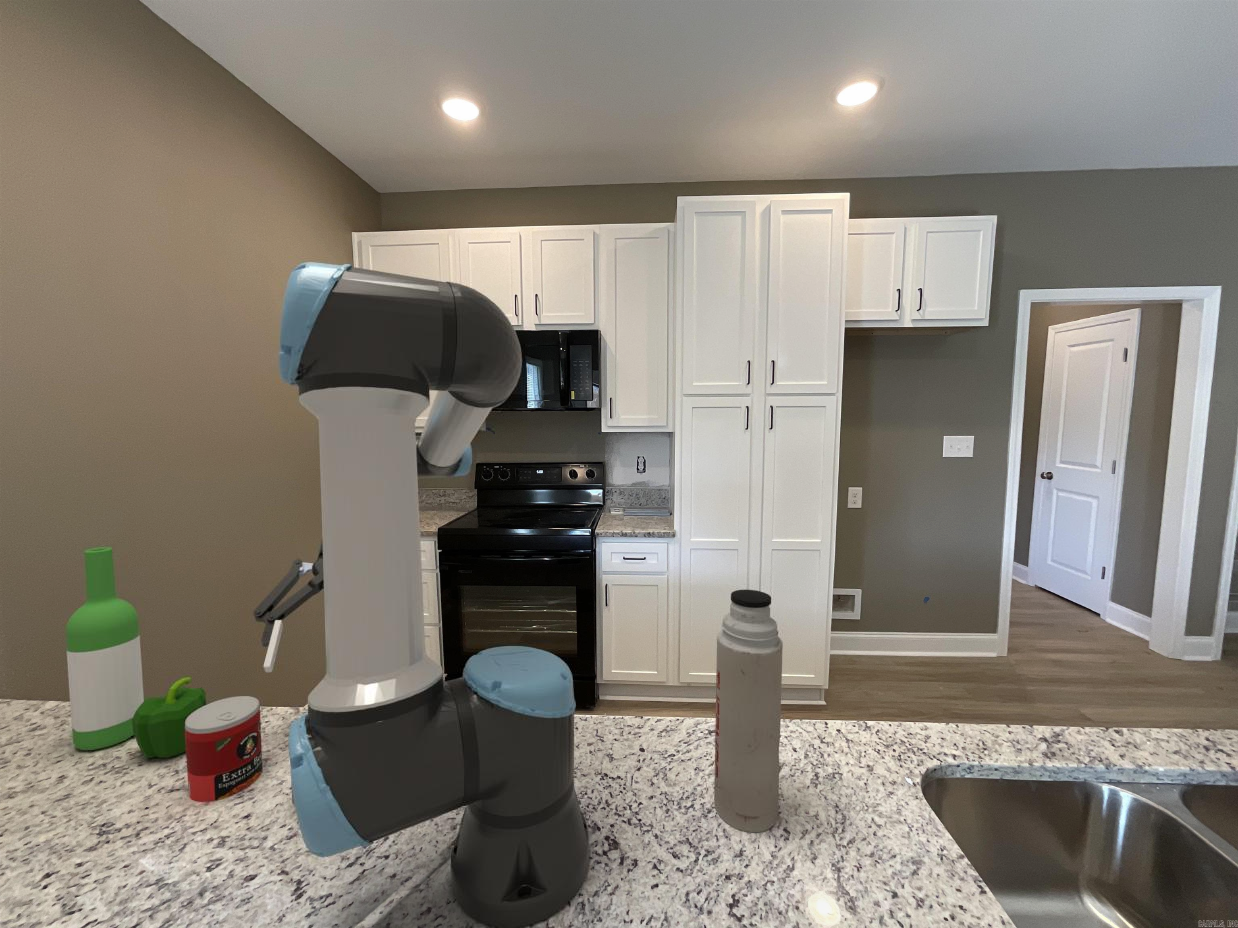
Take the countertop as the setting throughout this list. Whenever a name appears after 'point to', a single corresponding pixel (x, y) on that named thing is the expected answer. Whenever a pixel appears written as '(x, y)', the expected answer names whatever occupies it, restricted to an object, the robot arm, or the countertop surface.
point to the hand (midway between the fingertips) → (323, 666)
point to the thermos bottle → (748, 714)
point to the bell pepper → (166, 720)
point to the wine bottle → (103, 659)
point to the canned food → (223, 748)
